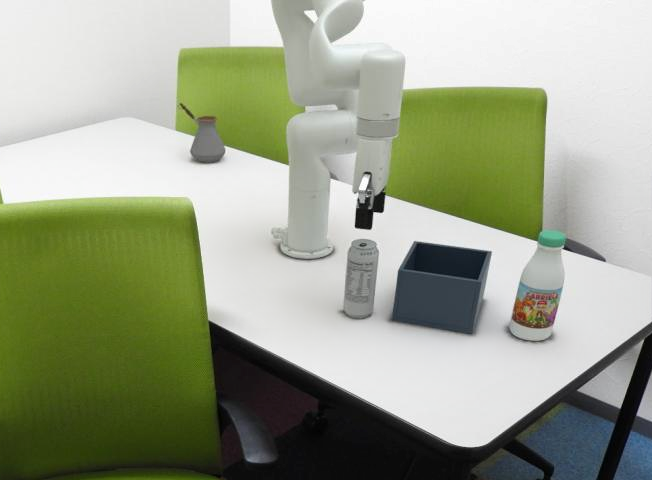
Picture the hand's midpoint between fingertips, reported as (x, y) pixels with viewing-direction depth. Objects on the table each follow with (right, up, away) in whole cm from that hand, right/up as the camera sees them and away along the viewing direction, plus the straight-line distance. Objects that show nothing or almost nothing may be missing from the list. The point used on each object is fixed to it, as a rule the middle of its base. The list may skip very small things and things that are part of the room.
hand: (369, 220), depth 144 cm
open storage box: (+16, -16, +11) cm, 25 cm away
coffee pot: (-35, +46, +104) cm, 120 cm away
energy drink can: (0, -17, +11) cm, 20 cm away
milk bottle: (+32, -21, +3) cm, 38 cm away
